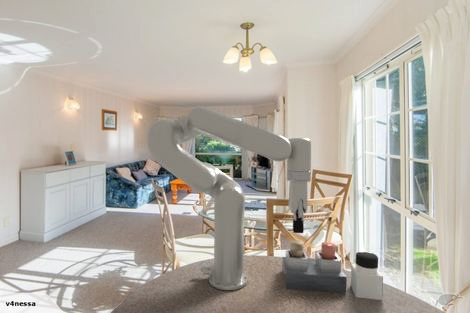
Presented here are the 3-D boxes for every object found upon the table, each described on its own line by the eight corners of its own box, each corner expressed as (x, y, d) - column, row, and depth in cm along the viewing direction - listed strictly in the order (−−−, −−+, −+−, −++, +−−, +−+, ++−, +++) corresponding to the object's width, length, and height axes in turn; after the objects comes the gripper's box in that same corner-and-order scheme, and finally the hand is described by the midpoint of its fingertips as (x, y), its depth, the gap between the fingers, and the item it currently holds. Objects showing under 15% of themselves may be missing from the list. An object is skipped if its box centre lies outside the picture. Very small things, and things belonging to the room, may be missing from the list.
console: (285, 289, 81) (285, 261, 80) (282, 270, 93) (282, 246, 92) (346, 293, 79) (346, 264, 79) (335, 273, 91) (335, 249, 91)
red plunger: (322, 258, 83) (323, 246, 83) (320, 253, 87) (320, 241, 87) (336, 259, 83) (337, 247, 83) (333, 254, 87) (333, 242, 87)
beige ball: (290, 257, 84) (291, 244, 84) (289, 252, 88) (289, 240, 88) (304, 257, 84) (304, 245, 84) (302, 252, 88) (302, 240, 88)
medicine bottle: (382, 301, 75) (384, 259, 75) (355, 297, 77) (357, 257, 76) (374, 287, 82) (375, 250, 82) (350, 285, 84) (351, 248, 83)
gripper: (284, 173, 93) (284, 225, 94) (289, 178, 78) (288, 240, 79) (306, 174, 92) (305, 225, 93) (315, 179, 77) (314, 240, 78)
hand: (298, 232), depth 86 cm, fingers closed
